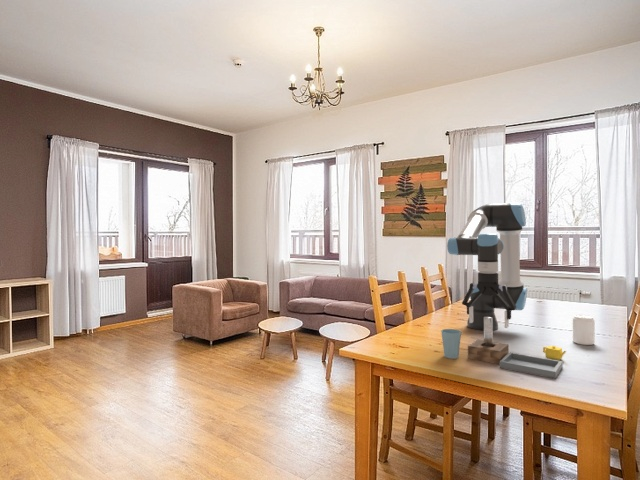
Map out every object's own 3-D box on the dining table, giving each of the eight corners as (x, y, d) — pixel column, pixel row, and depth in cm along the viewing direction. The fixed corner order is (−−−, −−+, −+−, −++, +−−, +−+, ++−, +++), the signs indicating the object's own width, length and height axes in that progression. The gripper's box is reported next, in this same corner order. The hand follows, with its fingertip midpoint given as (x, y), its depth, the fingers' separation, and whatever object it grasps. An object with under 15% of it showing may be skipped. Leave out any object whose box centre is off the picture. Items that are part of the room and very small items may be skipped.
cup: (439, 353, 163) (439, 328, 163) (458, 353, 163) (458, 328, 162) (443, 359, 156) (443, 333, 155) (463, 359, 155) (463, 333, 155)
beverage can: (584, 346, 170) (584, 319, 170) (568, 341, 178) (568, 315, 178) (599, 344, 173) (599, 317, 172) (582, 340, 180) (582, 314, 180)
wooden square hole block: (468, 358, 157) (468, 345, 157) (478, 351, 166) (478, 339, 166) (499, 364, 149) (499, 351, 149) (508, 356, 158) (508, 344, 158)
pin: (482, 352, 157) (482, 317, 157) (485, 350, 160) (485, 316, 160) (491, 354, 155) (491, 318, 155) (493, 352, 158) (493, 317, 157)
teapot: (568, 359, 154) (568, 346, 154) (564, 363, 150) (564, 349, 150) (546, 355, 160) (546, 342, 160) (541, 358, 156) (541, 345, 156)
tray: (499, 367, 145) (499, 361, 145) (509, 358, 156) (509, 352, 156) (555, 378, 134) (555, 371, 134) (562, 367, 145) (562, 361, 144)
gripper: (453, 271, 162) (454, 322, 163) (519, 275, 146) (520, 331, 147) (460, 269, 168) (460, 318, 169) (524, 272, 152) (524, 327, 153)
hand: (488, 324), depth 158 cm, fingers open, 13 cm apart
